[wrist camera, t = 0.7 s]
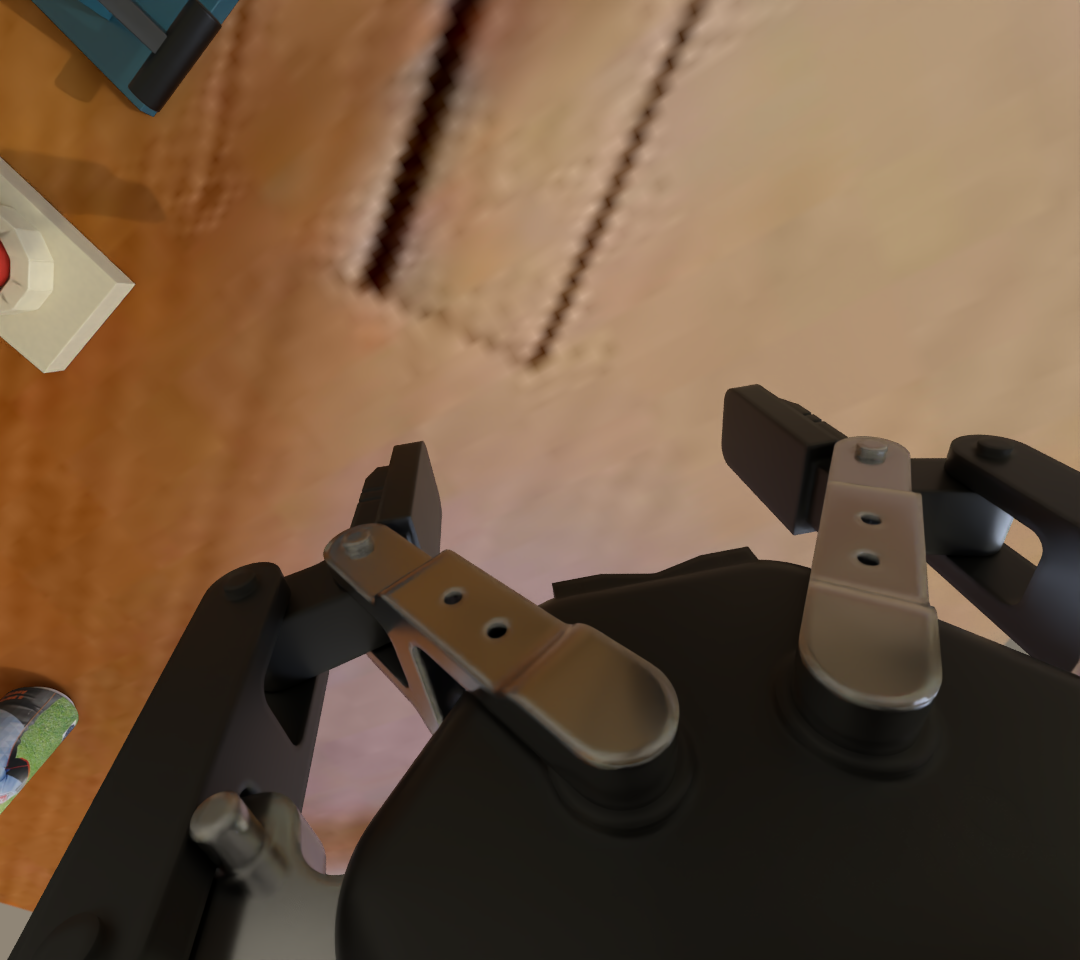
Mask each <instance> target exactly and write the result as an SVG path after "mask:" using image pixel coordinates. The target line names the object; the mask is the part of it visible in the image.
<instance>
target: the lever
mask: <svg viewBox="0 0 1080 960" xmlns="http://www.w3.org/2000/svg"><path fill="white" fill-rule="evenodd" d="M98 1H99V2H100V3H101V4H102V5H103V6H104V7H105V8H106V9H107V10H108V11H109V12H110V13H111V14H113V15H114V16H115V17H116V18H117V19H118V20H119V21H120V22H121V23H122V24H123V25H124V26H125V27H126V28H127V29H128V30H130V31H131V32H132V33H133V34H134V35H135V36H136V37H137V38H138V39H139V40H140V41H141V42H142V43H143V44H144V45H145V46H146V47H148V48H149V49H150V50H151V51H152V52H151V54H150V55H149V57H148V58H147V59H146V61H145V62H144V64H143V65H142V67H141V68H140V69H139V71H138V72H137V74H136V75H135V76H134V78H133V79H132V81H131V82H130V83H129V85H128V88H129V90H130V91H131V92H132V93H133V94H134V95H135V96H136V97H137V98H138V99H139V100H140V101H141V102H142V103H144V104H145V105H146V106H147V107H149V108H150V109H152V110H154V111H156V112H160V110H161V109H162V108H163V106H164V105H165V103H166V102H167V101H168V99H169V98H170V97H171V95H172V94H173V93H174V91H175V90H176V88H177V87H178V86H179V84H180V83H181V82H182V80H183V79H184V78H185V76H186V75H187V73H188V72H189V71H190V69H191V68H192V67H193V65H194V64H195V63H196V61H197V60H198V58H199V57H200V56H201V54H202V53H203V52H204V50H205V49H206V48H207V46H208V45H209V43H210V42H211V41H212V39H213V38H214V37H215V35H216V34H217V33H218V31H219V30H220V28H221V24H220V22H219V21H218V20H217V19H216V18H215V17H214V16H213V14H212V13H211V12H210V11H209V10H208V9H207V8H206V7H205V6H204V5H203V4H202V3H201V2H200V1H199V0H188V2H187V3H186V4H185V6H184V7H183V9H182V10H181V11H180V13H179V14H178V16H177V17H176V19H175V20H174V21H173V23H172V24H171V26H170V27H169V28H168V30H167V31H166V30H165V29H164V28H163V27H162V26H161V25H160V24H159V23H157V22H156V21H155V20H154V19H153V18H152V17H151V16H150V15H149V14H148V13H147V12H146V11H145V10H144V9H143V8H142V7H141V6H140V5H139V4H138V3H137V2H136V1H135V0H98Z"/></svg>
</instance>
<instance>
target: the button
mask: <svg viewBox="0 0 1080 960" xmlns="http://www.w3.org/2000/svg"><path fill="white" fill-rule="evenodd" d="M9 274H10V259H9V256H8V254H7V252H6V250H5V248H4V246H3V244H2V242H1V241H0V287H1V286H2V285H3V284H4V283H5V282H6V281H7V279H8V277H9Z"/></svg>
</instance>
